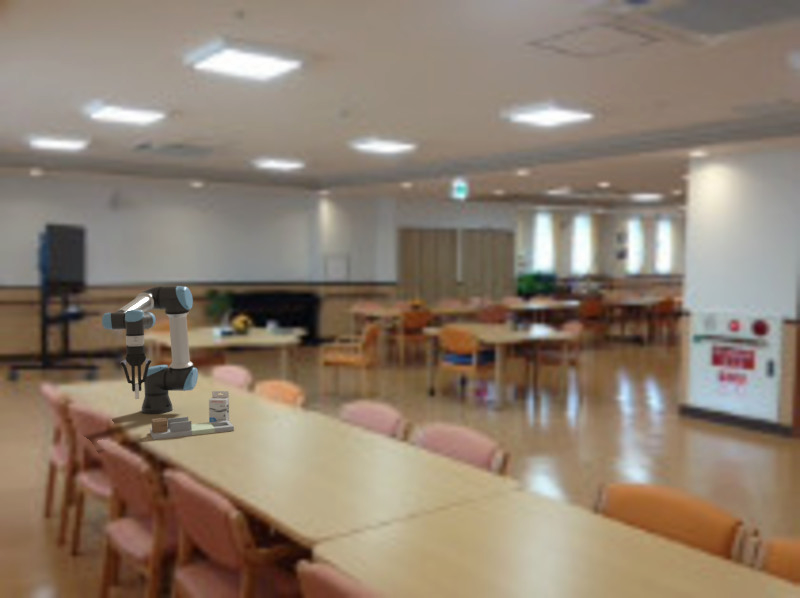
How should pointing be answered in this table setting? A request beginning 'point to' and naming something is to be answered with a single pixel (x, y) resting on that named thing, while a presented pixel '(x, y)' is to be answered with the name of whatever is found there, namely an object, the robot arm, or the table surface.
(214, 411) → the ink box
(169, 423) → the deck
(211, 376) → the table surface
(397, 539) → the table surface
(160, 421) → the block
